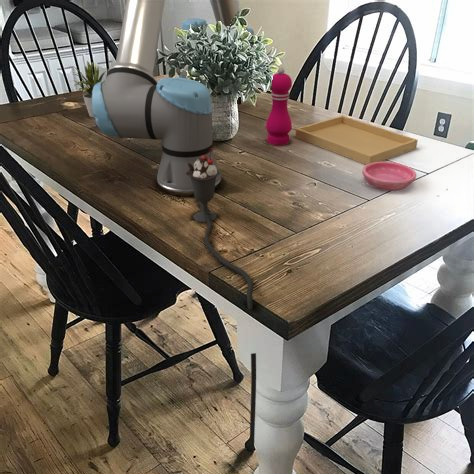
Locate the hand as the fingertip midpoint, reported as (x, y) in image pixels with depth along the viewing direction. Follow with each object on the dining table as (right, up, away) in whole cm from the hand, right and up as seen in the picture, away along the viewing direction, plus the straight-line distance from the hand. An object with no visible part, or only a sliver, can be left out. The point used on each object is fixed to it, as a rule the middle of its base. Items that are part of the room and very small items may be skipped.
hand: (259, 95), depth 154 cm
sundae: (-13, -40, -37) cm, 56 cm away
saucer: (+30, -30, -23) cm, 48 cm away
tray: (+27, -13, 0) cm, 30 cm away
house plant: (-52, +2, +22) cm, 56 cm away
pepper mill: (+5, -13, +1) cm, 14 cm away
